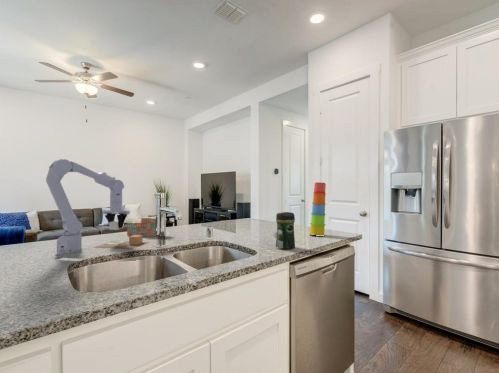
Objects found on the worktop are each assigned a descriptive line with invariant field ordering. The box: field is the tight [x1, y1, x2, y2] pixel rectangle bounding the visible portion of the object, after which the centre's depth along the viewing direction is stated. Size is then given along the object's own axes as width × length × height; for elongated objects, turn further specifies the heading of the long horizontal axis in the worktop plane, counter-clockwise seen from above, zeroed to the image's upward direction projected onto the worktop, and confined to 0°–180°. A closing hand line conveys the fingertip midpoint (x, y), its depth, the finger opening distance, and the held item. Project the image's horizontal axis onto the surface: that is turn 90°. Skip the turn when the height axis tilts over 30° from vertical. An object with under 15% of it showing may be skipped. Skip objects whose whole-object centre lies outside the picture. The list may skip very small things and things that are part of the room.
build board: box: [94, 240, 150, 250], centre depth 131 cm, size 15×21×1 cm
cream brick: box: [108, 220, 124, 231], centre depth 135 cm, size 5×5×4 cm
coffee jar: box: [275, 211, 296, 250], centre depth 132 cm, size 10×8×19 cm
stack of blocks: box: [126, 216, 157, 237], centre depth 157 cm, size 21×6×12 cm, turn 84°
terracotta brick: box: [128, 235, 143, 245], centre depth 135 cm, size 5×5×4 cm
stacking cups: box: [309, 181, 327, 235], centre depth 165 cm, size 10×10×35 cm
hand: (116, 227), depth 135 cm, fingers closed on cream brick, 5 cm apart
